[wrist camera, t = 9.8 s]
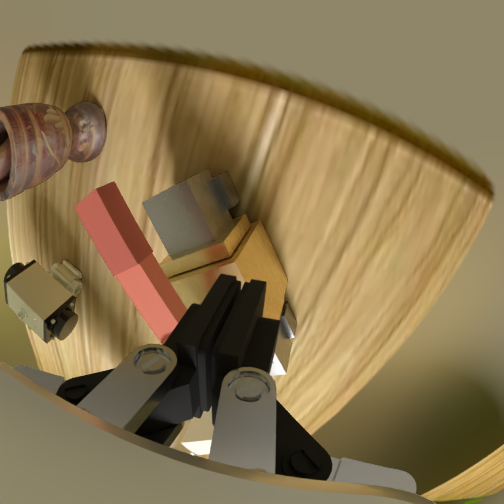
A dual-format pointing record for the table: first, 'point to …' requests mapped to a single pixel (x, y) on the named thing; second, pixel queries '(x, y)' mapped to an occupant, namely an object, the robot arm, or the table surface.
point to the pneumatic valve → (44, 297)
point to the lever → (131, 259)
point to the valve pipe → (219, 249)
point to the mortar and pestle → (45, 142)
